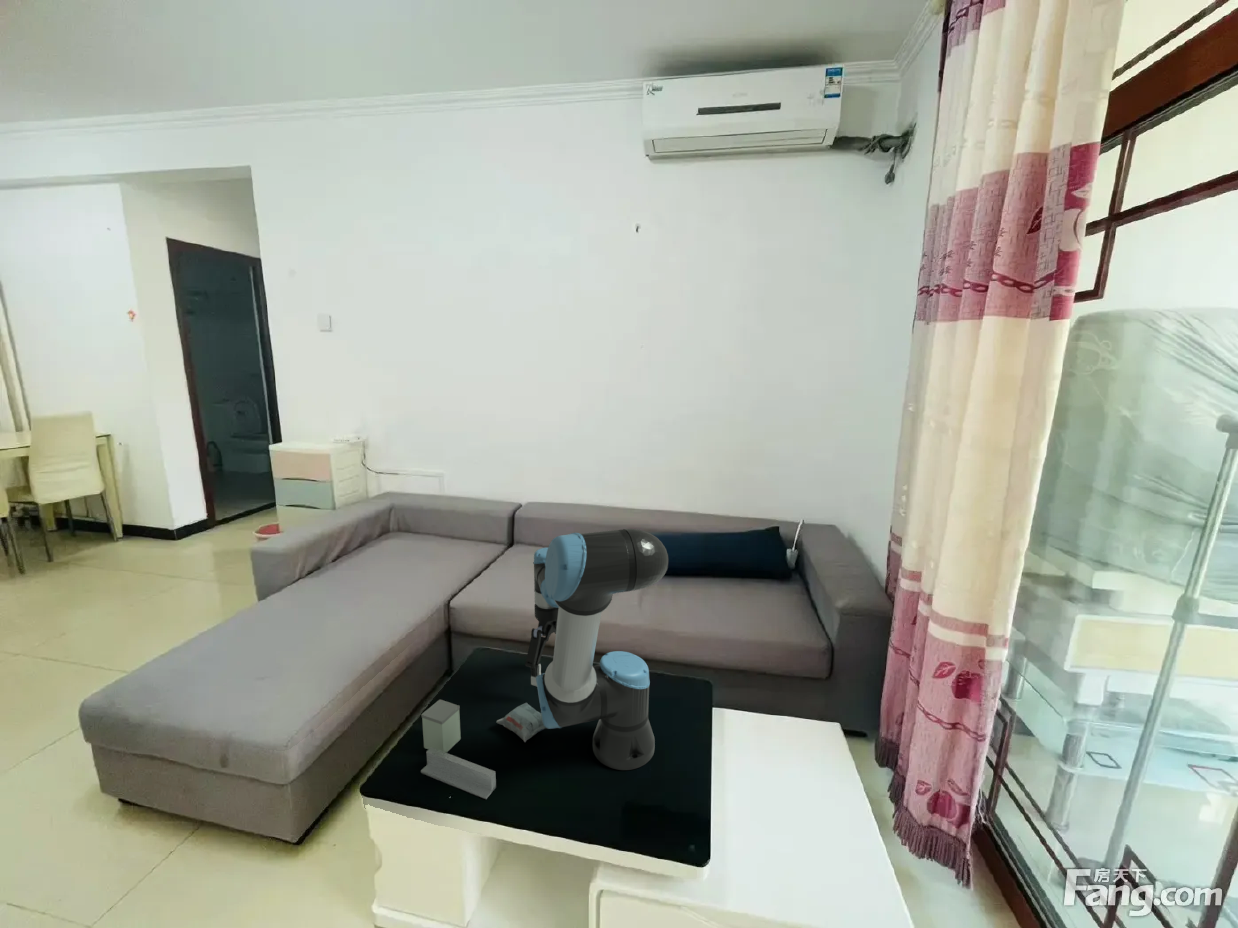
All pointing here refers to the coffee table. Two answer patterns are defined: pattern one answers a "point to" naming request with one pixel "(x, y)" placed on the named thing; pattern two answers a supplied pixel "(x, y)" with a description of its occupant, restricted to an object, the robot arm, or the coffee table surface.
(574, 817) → the coffee table surface
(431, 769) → the rail
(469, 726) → the coffee table surface
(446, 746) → the tea tin
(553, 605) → the robot arm
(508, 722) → the packaged food
